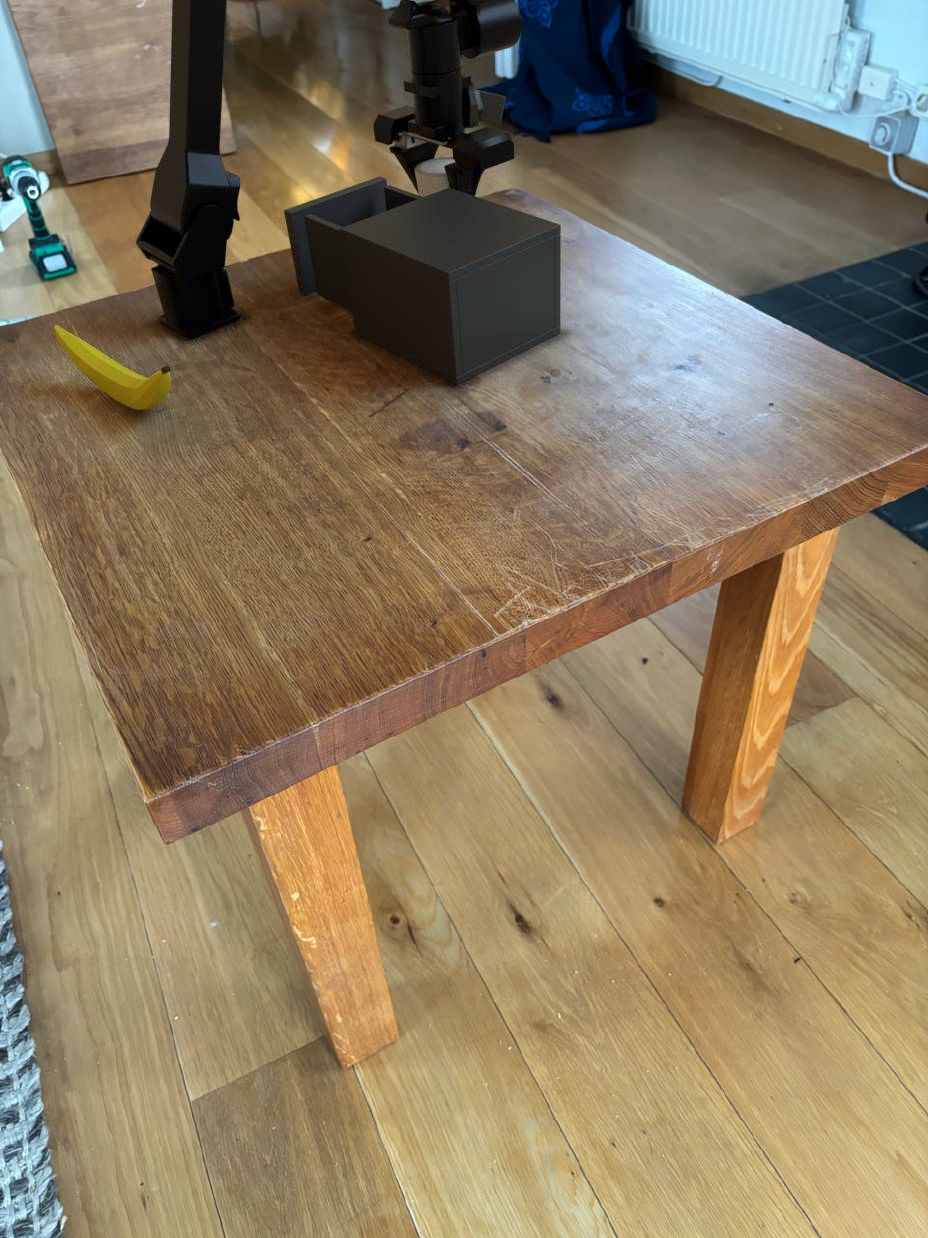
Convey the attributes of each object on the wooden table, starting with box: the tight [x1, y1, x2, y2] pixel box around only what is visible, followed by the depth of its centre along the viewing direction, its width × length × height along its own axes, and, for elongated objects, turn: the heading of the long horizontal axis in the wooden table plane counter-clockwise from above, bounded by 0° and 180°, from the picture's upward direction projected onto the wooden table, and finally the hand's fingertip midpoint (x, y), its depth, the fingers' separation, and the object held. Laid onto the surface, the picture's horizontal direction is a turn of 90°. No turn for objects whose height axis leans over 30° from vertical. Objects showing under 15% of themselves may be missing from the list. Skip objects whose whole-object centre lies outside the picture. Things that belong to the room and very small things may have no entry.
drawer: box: [283, 175, 423, 313], centre depth 100 cm, size 19×12×9 cm, turn 42°
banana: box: [53, 324, 172, 411], centre depth 89 cm, size 3×19×6 cm, turn 48°
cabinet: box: [340, 188, 562, 386], centre depth 93 cm, size 16×14×11 cm
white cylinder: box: [415, 156, 455, 197], centre depth 115 cm, size 7×7×7 cm
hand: (447, 213), depth 116 cm, fingers closed on white cylinder, 6 cm apart
